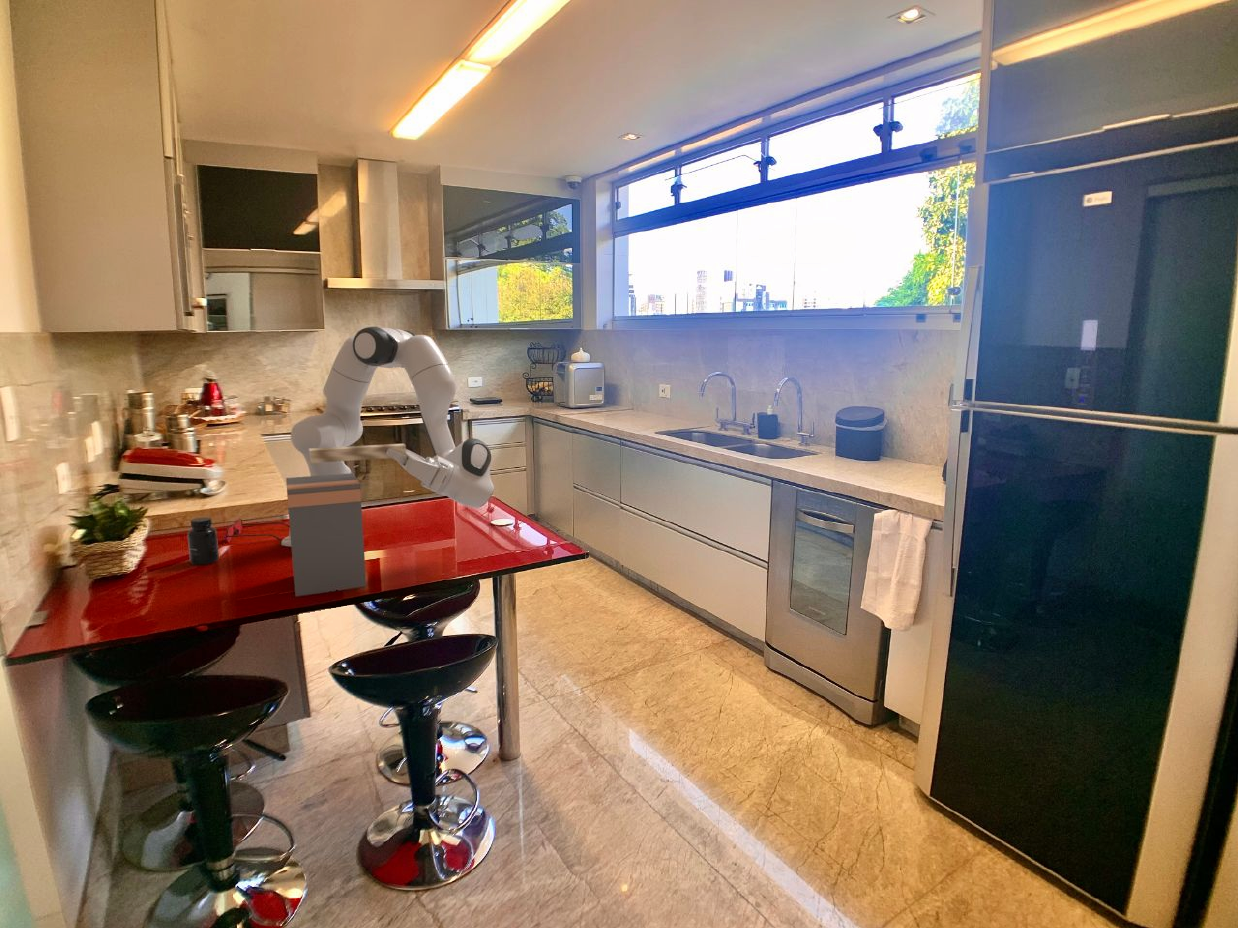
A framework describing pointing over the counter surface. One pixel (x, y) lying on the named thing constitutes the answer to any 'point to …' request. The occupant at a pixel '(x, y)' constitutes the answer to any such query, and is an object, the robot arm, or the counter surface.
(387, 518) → the counter surface
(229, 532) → the glasses
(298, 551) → the stand
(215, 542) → the supplement bottle
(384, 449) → the maple bar
